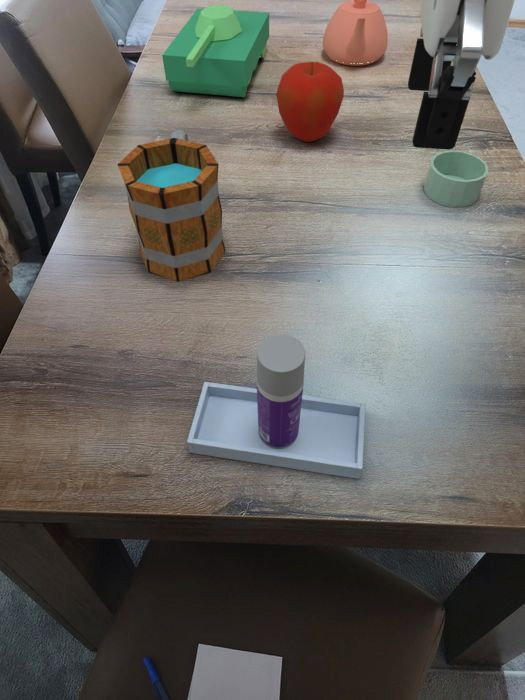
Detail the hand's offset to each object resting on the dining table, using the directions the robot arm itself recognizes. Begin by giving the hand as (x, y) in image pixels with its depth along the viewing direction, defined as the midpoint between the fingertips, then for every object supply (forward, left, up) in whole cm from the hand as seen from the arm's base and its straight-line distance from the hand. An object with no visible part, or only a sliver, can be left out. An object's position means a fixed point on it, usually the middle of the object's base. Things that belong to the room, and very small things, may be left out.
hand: (428, 115), depth 41 cm
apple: (+14, -51, -31) cm, 61 cm away
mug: (+30, -17, -31) cm, 46 cm away
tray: (+10, +15, -31) cm, 36 cm away
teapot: (+7, -90, -31) cm, 95 cm away
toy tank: (+37, -73, -31) cm, 88 cm away
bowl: (-13, -37, -31) cm, 50 cm away
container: (+10, +15, -30) cm, 35 cm away
